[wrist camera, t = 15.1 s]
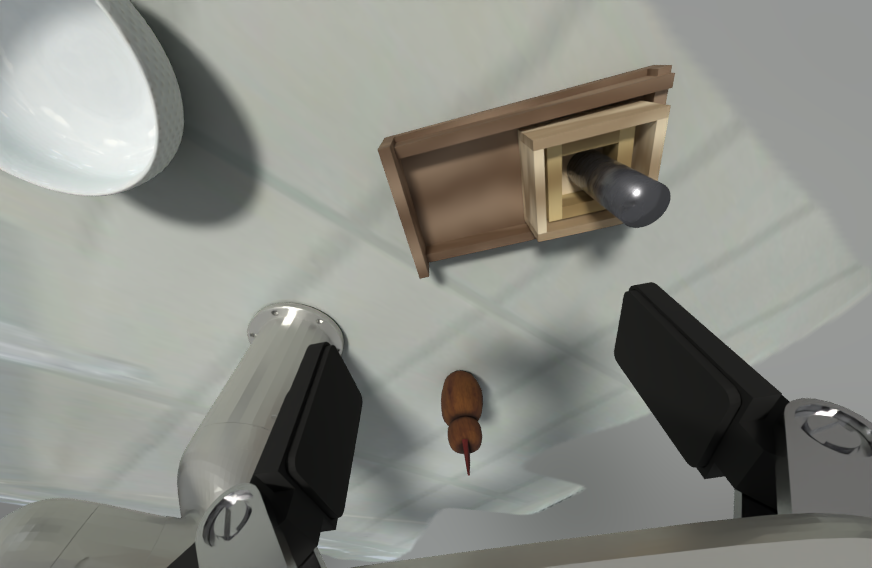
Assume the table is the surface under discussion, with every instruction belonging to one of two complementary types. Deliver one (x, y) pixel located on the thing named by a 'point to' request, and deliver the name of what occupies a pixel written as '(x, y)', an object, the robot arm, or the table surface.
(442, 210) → the tray
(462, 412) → the wooden figurine
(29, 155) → the cereal bowl
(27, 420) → the table surface
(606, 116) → the crate
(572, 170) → the handle peg
